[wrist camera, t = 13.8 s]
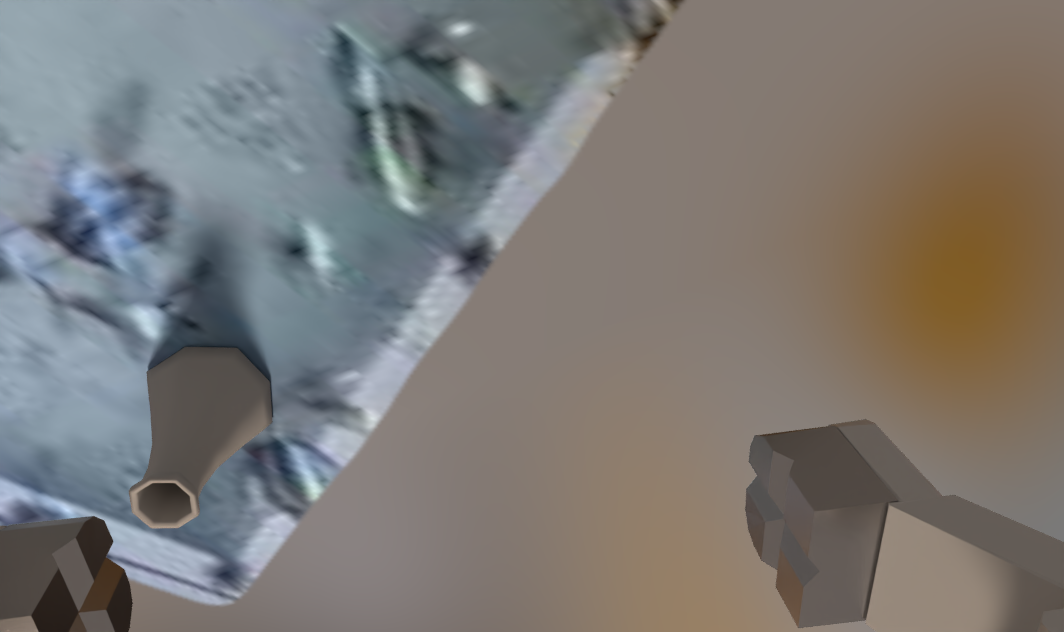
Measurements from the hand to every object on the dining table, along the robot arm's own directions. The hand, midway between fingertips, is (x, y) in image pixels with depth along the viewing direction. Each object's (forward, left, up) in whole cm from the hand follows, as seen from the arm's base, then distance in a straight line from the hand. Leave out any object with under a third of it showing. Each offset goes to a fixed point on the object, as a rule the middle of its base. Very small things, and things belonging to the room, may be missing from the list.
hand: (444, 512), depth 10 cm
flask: (+2, -23, -34) cm, 41 cm away
